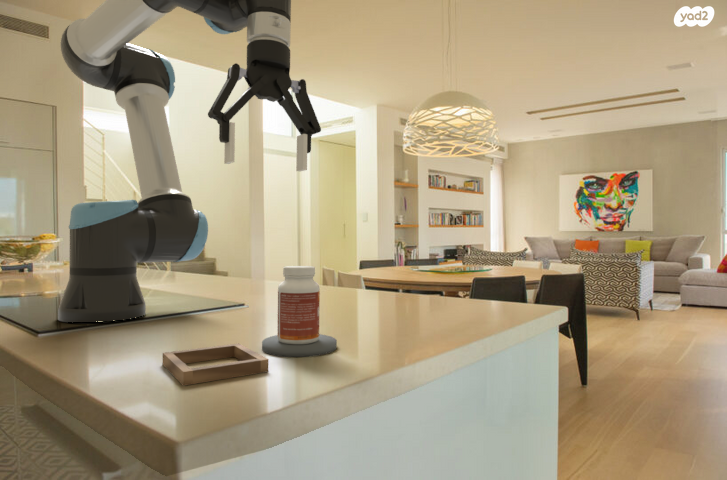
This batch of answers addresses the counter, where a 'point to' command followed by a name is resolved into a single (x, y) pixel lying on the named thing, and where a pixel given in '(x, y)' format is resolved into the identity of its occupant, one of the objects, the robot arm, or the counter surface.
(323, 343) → the disc
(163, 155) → the robot arm
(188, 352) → the socket
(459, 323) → the counter surface
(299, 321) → the pill bottle
